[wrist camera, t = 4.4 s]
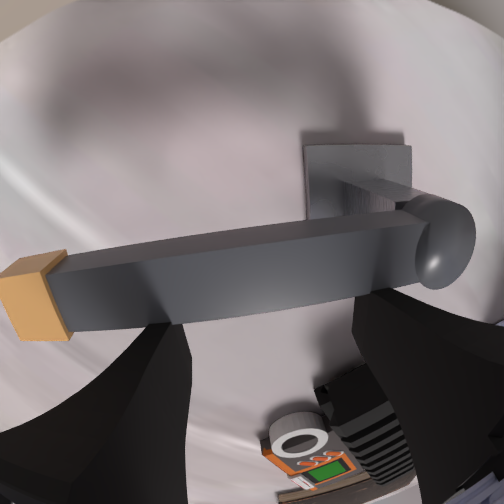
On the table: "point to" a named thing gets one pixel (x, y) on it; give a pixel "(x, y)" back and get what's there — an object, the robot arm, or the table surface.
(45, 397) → the table surface
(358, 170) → the pivot post
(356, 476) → the hardcover book
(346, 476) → the electronic device
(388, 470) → the rail mount
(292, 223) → the bar
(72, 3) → the table surface
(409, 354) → the robot arm
